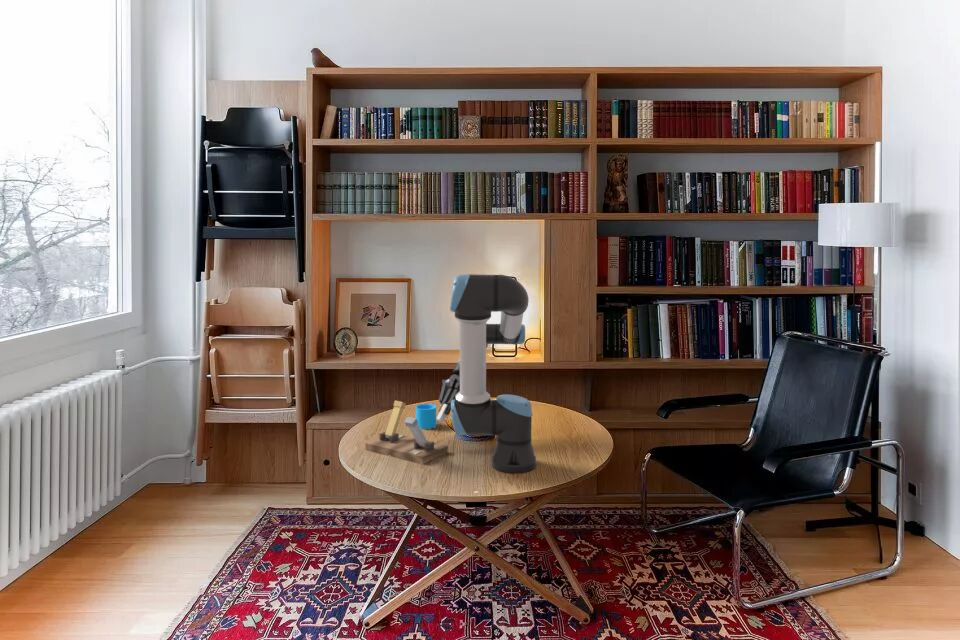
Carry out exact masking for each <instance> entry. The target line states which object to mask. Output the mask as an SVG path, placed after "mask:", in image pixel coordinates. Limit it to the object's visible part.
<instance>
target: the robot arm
mask: <svg viewBox="0 0 960 640" xmlns="http://www.w3.org/2000/svg"><path fill="white" fill-rule="evenodd" d="M452 283H453V285H452V292H451V298H450V307H449V310H450V312H452V313H454V318H455V319H456V320H457V321H458V322H459V358H458V360H457V363H456V364H455V366H454V369H453V371H452V375H450V377H449V378H448V379H445V378H444V379H442V387H441V390H440V394H439V397H438V402H439V403H440V404H441V405H440V408H439V410H438V414H437V415H436V422H438V423H439V424H444V422H445V419H447V416H449V415H451V421H452V427H453V431H454V432H455V433H456V434H457V435H458V436H468V437H470V436H496V442H495V446H494V449H493V452H492V453H493V454H492V455H491V458H490V459H491V460H490V462H491V463H490V464H491V467H492V468H493V469H494V470H497V471H499V472H502V473H511V474H520V473H526V472H530V471H533V470H534V469H536V467H537V457H536V456H535V452H534V447H533V445H532V422H533V421H532V419H533V412H532V410H533V409H532V402H530V400H529V399H527V398H525V397H524V396H520V395H515V394H500V395H497V397H496V399H491V394H490V393H489V392H487V348H488V346H489V345H514V346H515V345H523V344H525V342H526V326H525V324H523V323H522V322H523V317H524V313H525V312H526V311H527V309H528V307H529V299H530V298H529V294H528V292H527V289H526V288H525V287H524V285H523V284H521V282H519V281H518V280H516V279H515V278H513V277H511V276H509V275H507V274H505V275H504V274H470V273H468V274H458V275H455V277H454V279H453V282H452ZM494 312H495V313H496V312H500V323H487V322H488V321H489V320H490V319H491V317H492V313H494ZM450 413H451V414H450Z"/></svg>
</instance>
